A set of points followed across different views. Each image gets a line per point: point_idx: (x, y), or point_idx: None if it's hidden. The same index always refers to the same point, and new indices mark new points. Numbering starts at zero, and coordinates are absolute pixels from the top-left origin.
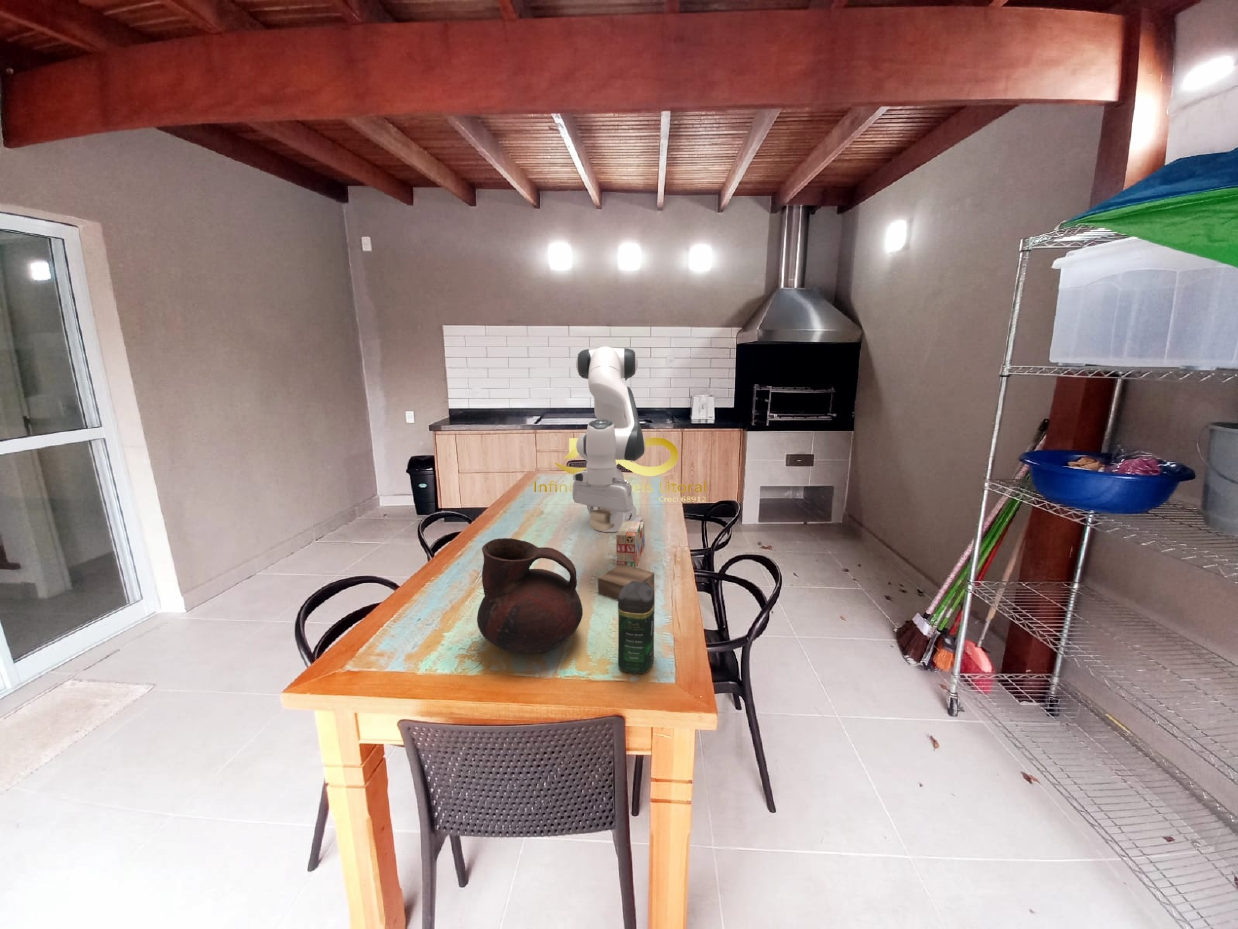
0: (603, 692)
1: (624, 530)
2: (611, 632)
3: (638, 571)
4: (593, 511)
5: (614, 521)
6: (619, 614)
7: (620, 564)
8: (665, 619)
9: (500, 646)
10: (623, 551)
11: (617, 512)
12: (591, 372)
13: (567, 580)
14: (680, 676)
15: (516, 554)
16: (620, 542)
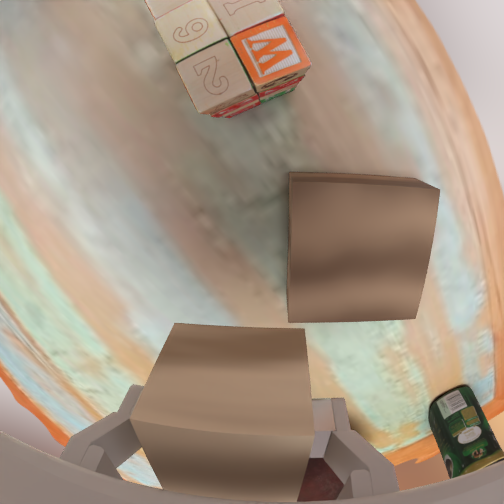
0: (422, 448)
1: (201, 33)
2: (394, 385)
3: (389, 209)
4: (165, 481)
5: (345, 407)
6: None
7: (295, 191)
8: (476, 298)
9: None
10: (248, 102)
11: (389, 468)
12: None
13: (322, 494)
14: (499, 388)
15: None
16: (229, 105)
